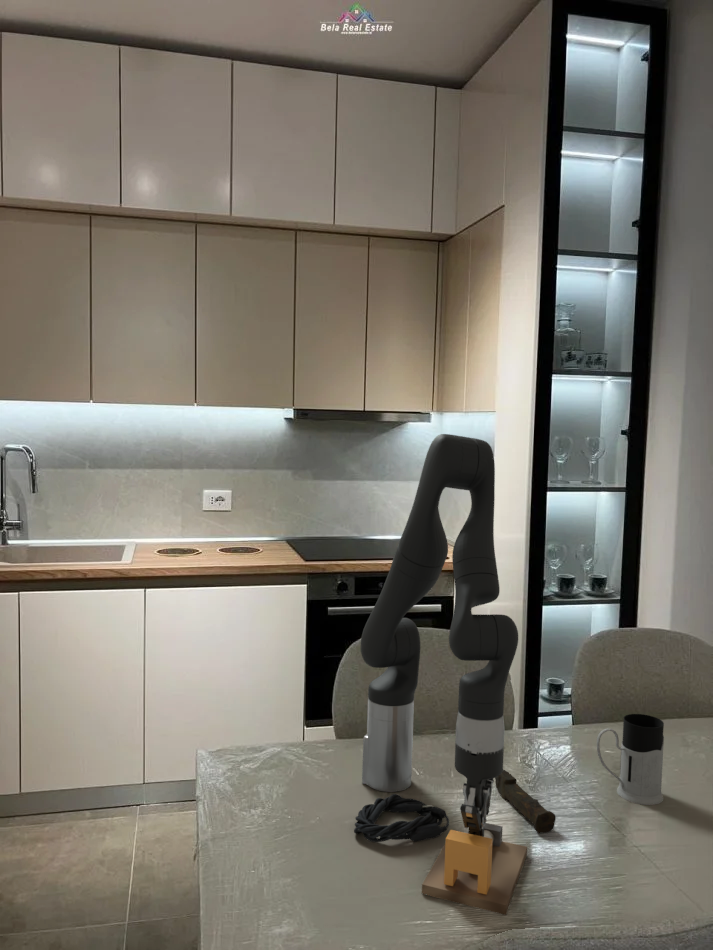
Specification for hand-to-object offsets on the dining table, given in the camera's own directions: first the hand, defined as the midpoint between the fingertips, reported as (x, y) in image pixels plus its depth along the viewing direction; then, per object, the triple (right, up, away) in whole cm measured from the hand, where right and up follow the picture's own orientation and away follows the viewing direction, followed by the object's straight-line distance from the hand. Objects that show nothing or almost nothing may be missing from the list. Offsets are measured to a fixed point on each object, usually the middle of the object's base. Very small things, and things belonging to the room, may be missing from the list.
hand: (475, 848), depth 125 cm
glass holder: (+35, -5, +32) cm, 48 cm away
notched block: (-2, -4, -3) cm, 6 cm away
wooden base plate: (+1, -5, +3) cm, 6 cm away
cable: (-12, -5, +17) cm, 22 cm away
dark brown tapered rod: (+12, -5, +25) cm, 28 cm away
